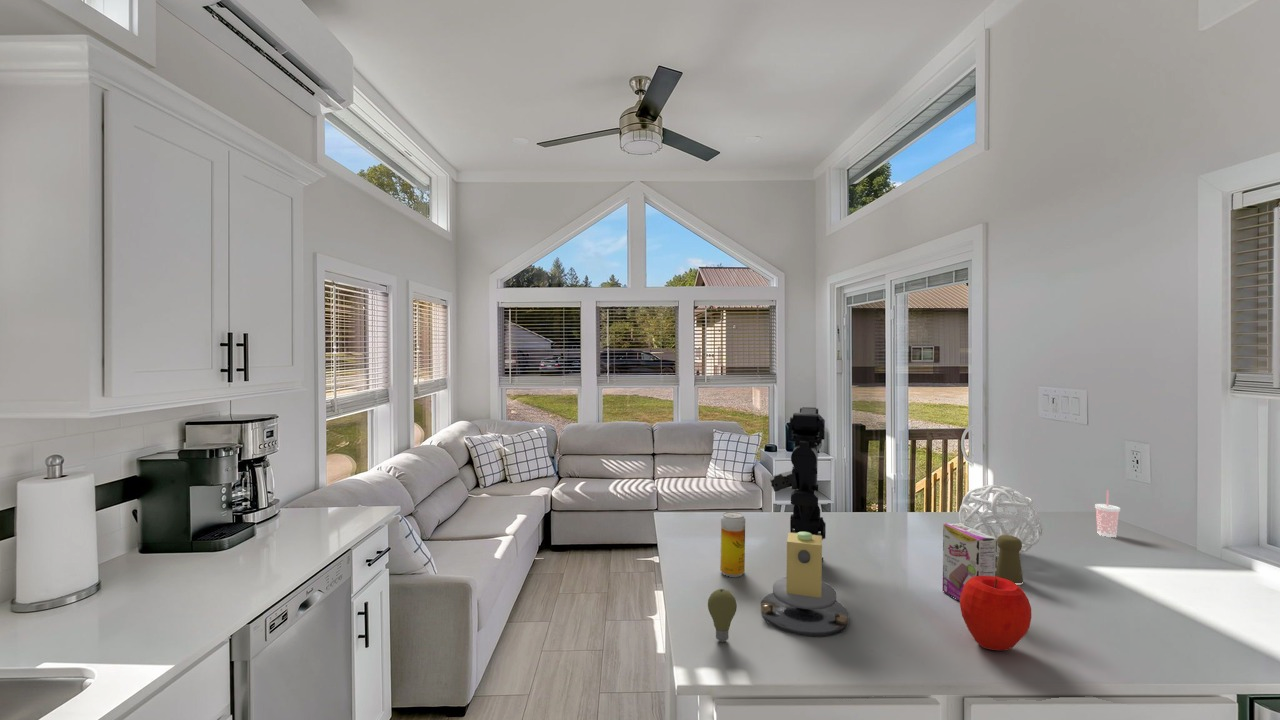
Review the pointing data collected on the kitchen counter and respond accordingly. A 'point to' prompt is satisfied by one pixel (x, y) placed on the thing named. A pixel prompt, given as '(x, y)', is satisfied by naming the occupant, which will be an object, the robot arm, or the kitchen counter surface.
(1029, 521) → the decorative ball
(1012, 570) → the brown rounded upright piece
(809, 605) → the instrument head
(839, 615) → the base
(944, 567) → the candy bar box
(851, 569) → the kitchen counter surface
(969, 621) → the apple
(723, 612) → the light bulb
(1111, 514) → the beverage cup
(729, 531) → the beer can
